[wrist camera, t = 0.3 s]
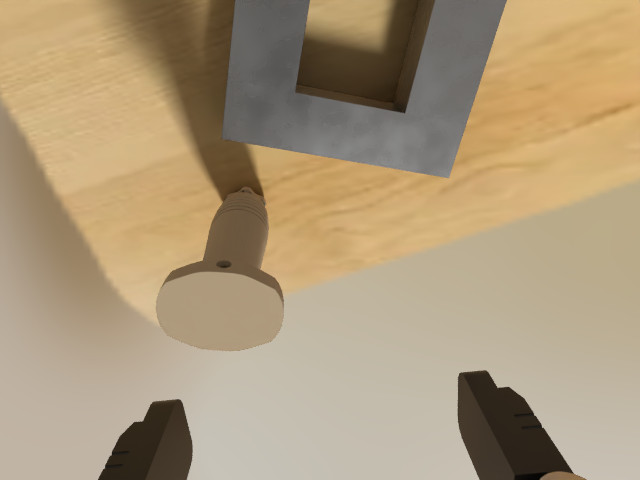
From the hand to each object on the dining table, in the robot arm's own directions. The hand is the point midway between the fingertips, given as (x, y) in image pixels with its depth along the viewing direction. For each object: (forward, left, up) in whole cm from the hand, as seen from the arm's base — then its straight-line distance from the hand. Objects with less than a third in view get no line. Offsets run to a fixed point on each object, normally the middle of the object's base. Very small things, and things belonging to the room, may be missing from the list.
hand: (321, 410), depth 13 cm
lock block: (-10, +2, -25) cm, 27 cm away
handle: (+4, -4, -25) cm, 26 cm away
